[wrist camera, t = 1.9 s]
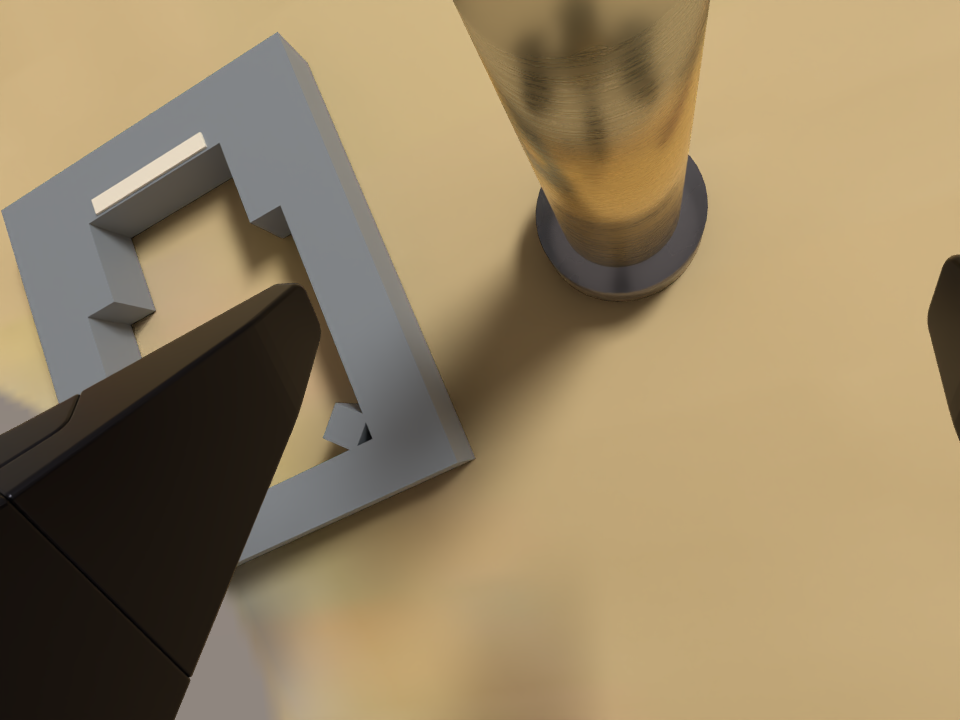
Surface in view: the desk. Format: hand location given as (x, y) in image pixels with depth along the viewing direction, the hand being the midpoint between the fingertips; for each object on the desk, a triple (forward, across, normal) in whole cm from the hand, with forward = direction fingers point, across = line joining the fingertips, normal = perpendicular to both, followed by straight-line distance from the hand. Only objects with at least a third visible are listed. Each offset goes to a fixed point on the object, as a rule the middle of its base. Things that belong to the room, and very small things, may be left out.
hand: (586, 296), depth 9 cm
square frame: (+9, +14, +7) cm, 18 cm away
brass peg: (+11, 0, +5) cm, 12 cm away
